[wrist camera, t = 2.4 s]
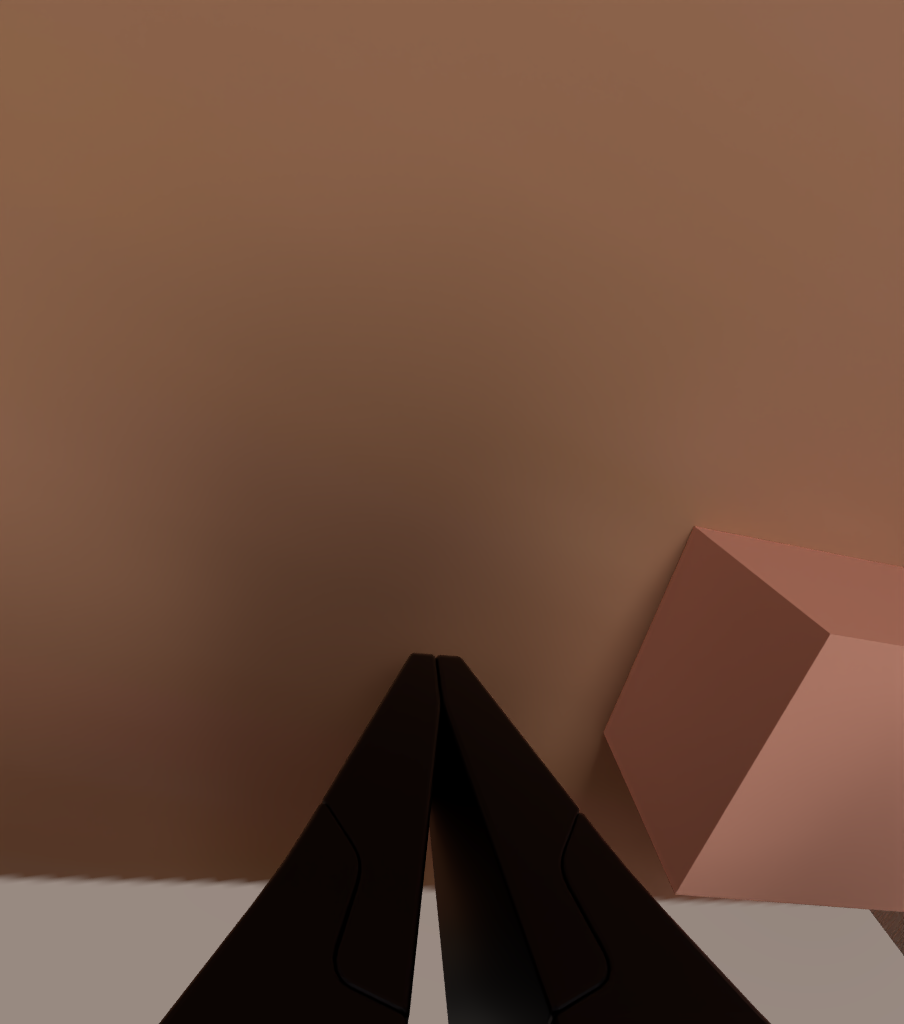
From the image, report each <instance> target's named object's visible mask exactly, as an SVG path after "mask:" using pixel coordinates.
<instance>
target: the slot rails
mask: <svg viewBox="0 0 904 1024" xmlns="http://www.w3.org/2000/svg"><path fill="white" fill-rule="evenodd" d="M869 910H870V911H871V913H872V914H873V915H874V917H875V918H876V919H877V921H878V922H879V923H880V924H881V926H882V927H883V928H884V930H885V931H886V933H887V934H888V935H889V937H890V938H891V939H892V940H893V942H894V943H895V944H896V946H897V947H898V948H899V950H900V951H901V952H902V954H903V955H904V912H897V911H884V910H871V909H869Z"/></svg>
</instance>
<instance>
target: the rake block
mask: <svg viewBox="0 0 904 1024" xmlns="http://www.w3.org/2000/svg"><path fill="white" fill-rule="evenodd" d="M603 733H604V735H605V737H606V740H607V742H608V744H609V746H610V749H611V751H612V753H613V755H614V758H615V760H616V762H617V764H618V767H619V769H620V771H621V773H622V776H623V778H624V780H625V782H626V785H627V787H628V789H629V792H630V794H631V796H632V798H633V801H634V803H635V805H636V807H637V810H638V812H639V814H640V816H641V819H642V821H643V823H644V825H645V828H646V830H647V832H648V834H649V837H650V839H651V841H652V843H653V846H654V848H655V850H656V852H657V855H658V857H659V859H660V861H661V864H662V866H663V868H664V871H665V873H666V875H667V877H668V880H669V882H670V884H671V886H672V889H673V891H674V893H675V895H688V896H701V897H714V898H727V899H740V900H753V901H767V902H780V903H793V904H806V905H819V906H832V907H845V908H858V909H871V910H884V911H897V912H904V567H899V566H894V565H889V564H884V563H879V562H874V561H869V560H864V559H859V558H854V557H849V556H843V555H838V554H833V553H828V552H823V551H818V550H813V549H808V548H803V547H798V546H793V545H788V544H783V543H778V542H772V541H767V540H762V539H757V538H752V537H747V536H742V535H737V534H732V533H727V532H722V531H717V530H712V529H706V528H701V527H696V526H694V528H693V530H692V532H691V534H690V537H689V539H688V541H687V544H686V546H685V548H684V550H683V553H682V555H681V557H680V559H679V562H678V564H677V566H676V569H675V571H674V573H673V575H672V578H671V580H670V582H669V584H668V587H667V589H666V591H665V593H664V596H663V598H662V600H661V603H660V605H659V607H658V609H657V612H656V614H655V616H654V618H653V621H652V623H651V625H650V628H649V630H648V632H647V634H646V637H645V639H644V641H643V643H642V646H641V648H640V650H639V652H638V655H637V657H636V659H635V662H634V664H633V666H632V668H631V671H630V673H629V675H628V677H627V680H626V682H625V684H624V687H623V689H622V691H621V693H620V696H619V698H618V700H617V702H616V705H615V707H614V709H613V712H612V714H611V716H610V718H609V721H608V723H607V725H606V727H605V730H604V732H603Z"/></svg>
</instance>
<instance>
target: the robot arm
mask: <svg viewBox="0 0 904 1024" xmlns="http://www.w3.org/2000/svg"><path fill="white" fill-rule="evenodd" d="M429 827H430V837H431V847H432V858H433V868H434V878H435V889H436V899H437V909H438V920H439V930H440V939H441V950H442V961H443V971H444V982H445V992H446V1002H447V1013H448V1023H449V1024H771V1023H770V1022H769V1021H768V1020H767V1019H766V1018H765V1017H764V1016H763V1015H762V1014H761V1013H760V1012H759V1011H758V1010H757V1009H756V1008H755V1007H754V1006H753V1005H752V1004H751V1003H750V1002H749V1000H747V998H746V997H745V996H744V995H743V994H742V993H741V992H740V991H739V990H738V989H737V988H736V987H735V986H734V984H733V983H732V982H731V981H730V980H729V979H728V978H727V977H726V976H725V975H724V974H723V973H722V971H721V970H720V969H719V968H718V967H717V966H716V965H715V964H714V963H713V962H712V961H711V960H710V959H709V958H708V956H707V955H706V954H705V953H704V952H703V951H702V950H701V949H700V948H699V947H698V946H697V945H696V944H695V942H694V941H693V940H692V939H691V938H690V937H689V936H688V935H687V934H686V933H685V932H684V931H683V930H682V929H681V927H680V926H679V925H678V924H677V923H676V922H675V921H674V920H673V919H672V918H671V917H670V916H669V915H668V914H667V912H666V911H665V910H664V909H663V908H662V907H661V906H660V905H659V904H658V902H657V901H656V900H655V899H654V898H653V897H652V896H651V895H650V893H649V892H648V891H647V890H646V889H645V888H644V887H643V886H642V885H641V883H640V882H639V881H638V880H637V879H636V878H635V877H634V876H633V874H632V873H631V872H630V871H629V870H628V869H627V868H626V866H625V865H624V864H623V863H622V861H621V860H620V859H619V858H618V857H617V855H616V854H615V853H614V852H613V850H612V849H611V848H610V847H609V846H608V844H607V843H606V842H605V841H604V840H603V838H602V837H601V836H600V835H599V833H598V832H597V831H596V829H595V828H594V827H593V826H592V824H591V823H590V822H589V821H588V819H587V818H586V817H585V815H584V814H583V813H579V808H578V807H577V805H576V804H575V803H574V802H573V800H572V799H571V798H570V797H569V795H568V794H567V793H566V791H565V790H564V789H563V788H562V786H561V785H560V784H559V782H558V781H557V780H556V779H555V777H554V776H553V775H552V773H551V772H550V771H549V770H548V768H547V767H546V766H545V764H544V763H543V762H542V761H541V759H540V758H539V757H538V755H537V754H536V753H535V752H534V750H533V749H532V748H531V747H530V745H529V744H528V743H527V741H526V740H525V739H524V738H523V736H522V735H521V734H520V732H519V731H518V730H517V729H516V727H515V726H514V725H513V723H512V722H511V721H510V720H509V718H508V717H507V716H506V714H505V713H504V712H503V711H502V709H501V708H500V707H499V706H498V704H497V703H496V702H495V700H494V699H493V698H492V697H491V695H490V694H489V693H488V691H487V690H486V689H485V688H484V686H483V685H482V684H481V682H480V681H479V680H478V679H477V677H476V676H475V675H474V673H473V672H472V671H471V670H470V668H469V667H468V666H467V665H466V663H465V662H464V661H463V659H462V658H460V657H458V656H447V655H438V656H437V657H436V658H435V656H434V655H432V654H420V653H413V654H411V655H410V656H409V658H408V659H407V661H406V663H405V664H404V666H403V667H402V669H401V671H400V672H399V674H398V676H397V677H396V679H395V681H394V682H393V684H392V686H391V687H390V689H389V691H388V692H387V694H386V696H385V697H384V699H383V701H382V702H381V704H380V706H379V707H378V709H377V711H376V712H375V714H374V716H373V717H372V719H371V721H370V722H369V724H368V726H367V727H366V729H365V730H364V732H363V734H362V735H361V737H360V739H359V740H358V742H357V744H356V745H355V747H354V749H353V750H352V752H351V754H350V755H349V757H348V759H347V760H346V762H345V764H344V765H343V767H342V769H341V770H340V772H339V774H338V775H337V777H336V779H335V780H334V782H333V784H332V785H331V787H330V789H329V790H328V792H327V793H326V795H325V797H324V798H323V802H322V803H321V804H320V805H319V806H318V808H317V809H316V811H315V813H314V814H313V816H312V818H311V819H310V821H309V823H308V824H307V826H306V828H305V829H304V831H303V832H302V834H301V835H300V837H299V838H298V840H297V841H296V843H295V845H294V846H293V848H292V849H291V851H290V852H289V854H288V855H287V857H286V858H285V860H284V861H283V863H282V864H281V866H280V867H279V868H278V870H277V871H276V873H275V874H274V875H273V877H272V878H271V879H270V881H269V882H268V883H267V885H266V886H265V887H264V889H263V890H262V892H261V893H260V894H259V896H258V897H257V898H256V900H255V901H254V902H253V904H252V905H251V907H250V908H249V909H248V910H247V912H246V913H245V915H243V917H242V918H241V919H240V921H239V922H238V923H237V924H236V926H235V927H234V928H233V930H232V931H231V932H230V933H229V935H228V936H227V937H226V938H225V940H224V941H223V942H222V944H221V945H220V946H219V948H218V949H217V950H216V951H215V953H214V954H213V955H212V956H211V958H210V959H209V960H208V962H207V963H206V964H205V965H204V967H203V968H202V969H201V971H200V972H199V973H198V974H197V976H196V977H195V978H194V980H193V981H192V982H191V983H190V985H189V986H188V987H187V989H186V990H185V991H184V992H183V994H182V995H181V996H180V998H179V999H178V1000H177V1001H176V1003H175V1004H174V1005H173V1007H172V1008H171V1009H170V1011H169V1012H168V1013H167V1014H166V1016H165V1017H164V1018H163V1019H162V1021H161V1022H160V1023H159V1024H408V1018H409V1013H410V1003H411V994H412V984H413V975H414V965H415V956H416V947H417V937H418V927H419V918H420V908H421V899H422V890H423V880H424V871H425V861H426V852H427V842H428V833H429Z"/></svg>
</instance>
